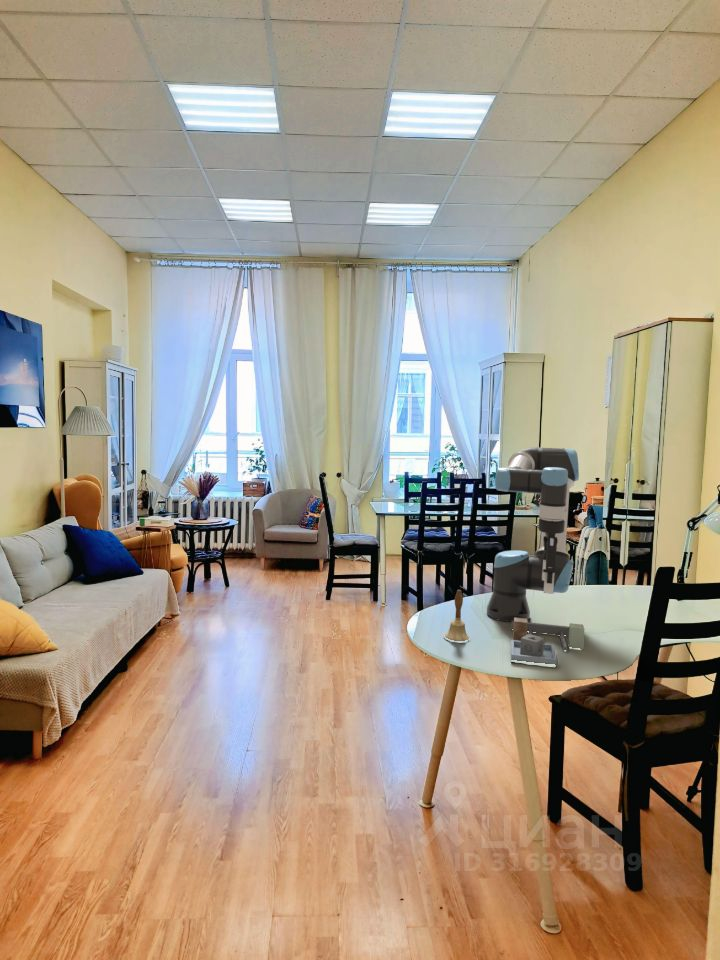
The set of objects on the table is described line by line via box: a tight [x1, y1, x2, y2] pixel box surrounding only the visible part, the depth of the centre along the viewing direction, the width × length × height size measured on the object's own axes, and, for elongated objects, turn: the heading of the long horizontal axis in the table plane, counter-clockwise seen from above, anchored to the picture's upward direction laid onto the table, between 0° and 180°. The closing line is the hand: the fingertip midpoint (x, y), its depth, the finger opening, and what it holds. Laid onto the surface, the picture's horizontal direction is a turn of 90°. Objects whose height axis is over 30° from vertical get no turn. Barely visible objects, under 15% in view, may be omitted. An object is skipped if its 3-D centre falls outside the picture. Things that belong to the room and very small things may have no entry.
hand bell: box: [444, 589, 470, 641], centre depth 201 cm, size 8×8×16 cm
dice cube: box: [520, 633, 545, 657], centre depth 188 cm, size 5×5×5 cm
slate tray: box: [510, 639, 558, 666], centre depth 188 cm, size 13×13×2 cm
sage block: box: [567, 622, 585, 650], centre depth 197 cm, size 4×4×7 cm
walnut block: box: [512, 618, 528, 641], centre depth 201 cm, size 4×4×7 cm
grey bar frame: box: [510, 621, 569, 651], centre depth 202 cm, size 22×16×3 cm
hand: (547, 586), depth 194 cm, fingers open, 13 cm apart
